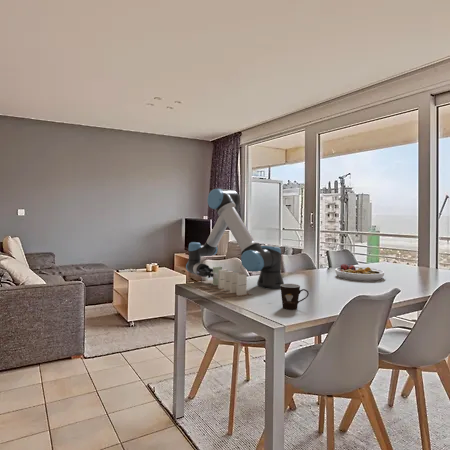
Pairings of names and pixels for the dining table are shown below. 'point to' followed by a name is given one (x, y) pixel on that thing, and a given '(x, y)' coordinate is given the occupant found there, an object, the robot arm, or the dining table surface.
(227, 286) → the domino
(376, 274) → the bowl
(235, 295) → the board
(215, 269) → the domino
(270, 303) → the dining table surface
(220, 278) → the domino
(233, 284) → the domino
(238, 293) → the domino
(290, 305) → the coffee mug
